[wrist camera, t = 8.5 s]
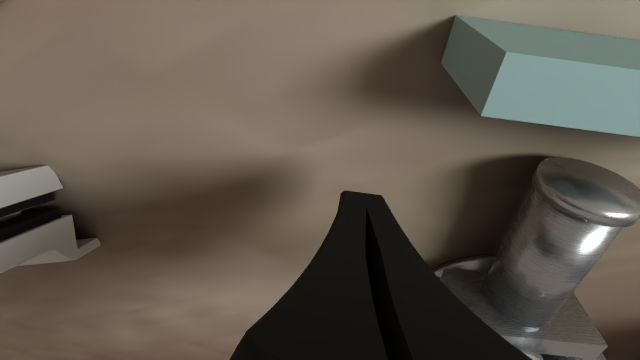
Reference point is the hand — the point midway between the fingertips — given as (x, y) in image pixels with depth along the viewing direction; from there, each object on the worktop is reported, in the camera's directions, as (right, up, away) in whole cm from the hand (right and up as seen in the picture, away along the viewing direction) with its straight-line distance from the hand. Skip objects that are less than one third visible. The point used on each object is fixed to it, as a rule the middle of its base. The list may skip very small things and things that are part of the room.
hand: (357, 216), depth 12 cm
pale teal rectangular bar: (+9, +5, 0) cm, 11 cm away
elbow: (+8, -3, +6) cm, 10 cm away
